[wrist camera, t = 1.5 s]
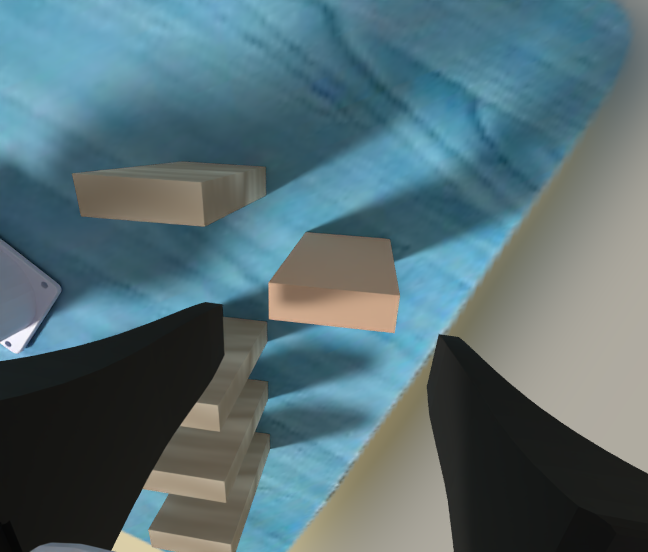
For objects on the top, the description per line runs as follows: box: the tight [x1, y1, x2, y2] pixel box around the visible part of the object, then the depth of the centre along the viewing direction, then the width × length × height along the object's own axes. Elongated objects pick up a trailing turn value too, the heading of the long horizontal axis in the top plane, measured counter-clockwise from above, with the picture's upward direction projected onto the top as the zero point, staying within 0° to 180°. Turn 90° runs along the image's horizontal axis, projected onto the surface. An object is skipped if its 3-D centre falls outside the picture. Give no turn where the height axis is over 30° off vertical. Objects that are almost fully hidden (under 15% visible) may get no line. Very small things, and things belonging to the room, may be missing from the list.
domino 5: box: [269, 232, 400, 333], centre depth 17 cm, size 2×5×8 cm, turn 87°
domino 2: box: [180, 317, 267, 432], centre depth 20 cm, size 2×5×8 cm, turn 87°
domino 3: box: [143, 379, 268, 503], centre depth 22 cm, size 2×5×8 cm, turn 87°
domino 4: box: [148, 432, 270, 552], centre depth 24 cm, size 2×5×8 cm, turn 87°
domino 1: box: [72, 162, 266, 227], centre depth 16 cm, size 2×5×8 cm, turn 87°
